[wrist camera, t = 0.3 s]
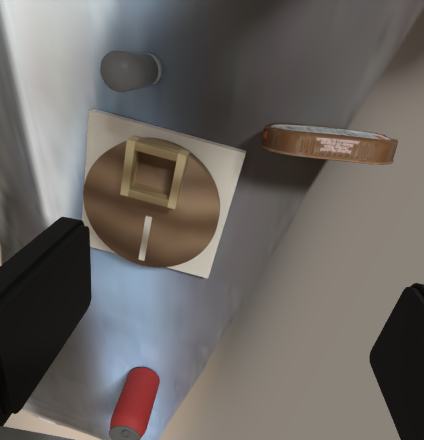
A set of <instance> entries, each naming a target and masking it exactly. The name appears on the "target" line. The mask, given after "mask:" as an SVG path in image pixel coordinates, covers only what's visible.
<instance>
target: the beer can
mask: <svg viewBox="0 0 424 440" xmlns="http://www.w3.org/2000/svg"><path fill="white" fill-rule="evenodd" d="M159 382H160V380H159V377H158V375H157V374H156V372H154V371H153V370H151V369H149V368H145V367H137V368H134V369H133V370H131V371H130V373H129V374H128V377H127V379H126V382H125V384H124V387H123V390H122V392H121V395H120V397H119V400H118V402H117V405H116V408H115V410H114V413H113V415H112V418H111V423H110V431H109V436H110V438H111V439H112V440H140V439H141V437H142V436H143V435H144V433H145V431H146V429H147V426H148V422H149V418H150V415H151V411H152V408H153V404H154V401H155V397H156V394H157V390H158V387H159Z"/></svg>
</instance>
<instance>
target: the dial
mask: <svg viewBox="0 0 424 440" xmlns="http://www.w3.org/2000/svg"><path fill="white" fill-rule="evenodd" d="M83 200H84V207H85V211H86V215H87V217H88V220H89V222H90V224H91V226H92V228H93V230H94V231H95V233H96V234H97V235H98V237H99V238H100V239H101V240H102V241H103V242H104V244H105V245H107V246H108V247H109V248H110V249H111V250H112V251H114V252H115V253H117V254H118V255H120V256H121V257H123V258H125V259H127V260H129V261H132V262H134V263H137V264H140V265H145V266H150V267H170V266H176V265H180V264H183V263H185V262H188V261H189V260H191V259H193V258H195V257H196V256H198V255H199V254H200V253H201V252H202V251H203V250H204V249H205V248H206V247H207V246H208V245H209V243H210V242H211V240H212V238H213V236H214V234H215V232H216V229H217V225H218V220H219V215H220V198H219V193H218V189H217V186H216V184H215V181H214V179H213V177H212V175H211V173H210V172H209V171H208V169H207V168H206V166H205V165H204V164H203V163H202V162H201V161H200V160H199V159H198V158H197V157H196V156H195V155H194V154H192V153H191V152H190V150H187V149H185V148H184V147H182V146H180V145H178V144H175V143H173V142H170V141H167V140H163V139H158V138H148V137H145V138H143V137H139V136H135V135H133V136H132V137H130V138H129V139H127V141H124V142H122V143H120V144H118V145H116V146H114V147H112V148H111V149H109V150H108V151H106V152H105V153H104V154H102V155H101V156H100V157H99V158H98V159H97V160H96V161H95V162H94V164H93V165H92V167H91V168H90V170H89V172H88V175H87V177H86V180H85V184H84V191H83Z"/></svg>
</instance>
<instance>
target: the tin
mask: <svg viewBox="0 0 424 440" xmlns="http://www.w3.org/2000/svg"><path fill="white" fill-rule="evenodd" d="M397 143H398V141H397V140H395V139H391V138H388V137H387V136H385V135H382V134H377V133H371V132H365V131H357V130H348V129H339V128H330V127H321V126H310V125H298V124H283V123H273V124H268V125H267V126H266V127H265V128H264V133H263V141H262V144H261V147H262V148H264V149H266V150H269V151H272V152H275V153H280V154H285V155H291V156H299V157H308V158H317V159H327V160H337V161H347V162H357V163H365V164H379V165H384V164H391V163H393V158H394V154H395V151H396V148H397Z"/></svg>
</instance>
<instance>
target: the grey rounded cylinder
mask: <svg viewBox="0 0 424 440" xmlns="http://www.w3.org/2000/svg"><path fill="white" fill-rule="evenodd" d="M162 74H163V68H162V64H161V62H160V60H159V59H158V58H157V57H156V56H155V55H153V54H151V53H141V52H126V51H112V52H109V53H108V54H106V55H105V57H104V58H103V60H102V62H101V75H102V78H103V80H104V82H105V83H106V85H107V86H108V87H109V88H111V89H112V90H114V91H117V92H126V91H130V90H134V89H138V88H142V87H146V86H150V85H154V84H156V83H157V82H158V81H159V80H160V79H161V77H162Z"/></svg>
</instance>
